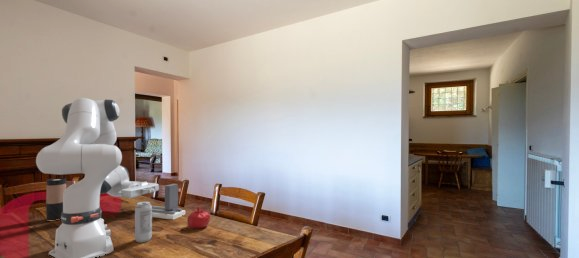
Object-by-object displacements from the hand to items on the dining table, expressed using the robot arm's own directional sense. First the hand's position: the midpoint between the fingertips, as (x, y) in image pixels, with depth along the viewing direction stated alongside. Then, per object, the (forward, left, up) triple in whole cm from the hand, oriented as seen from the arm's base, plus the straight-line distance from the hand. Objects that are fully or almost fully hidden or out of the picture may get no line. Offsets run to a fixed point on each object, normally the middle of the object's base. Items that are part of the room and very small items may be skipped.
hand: (152, 190), depth 144 cm
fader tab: (-11, -5, -10) cm, 16 cm away
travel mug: (+27, +35, -12) cm, 46 cm away
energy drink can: (-33, +17, -12) cm, 39 cm away
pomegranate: (-36, -6, -12) cm, 39 cm away
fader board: (-6, -3, -12) cm, 14 cm away
